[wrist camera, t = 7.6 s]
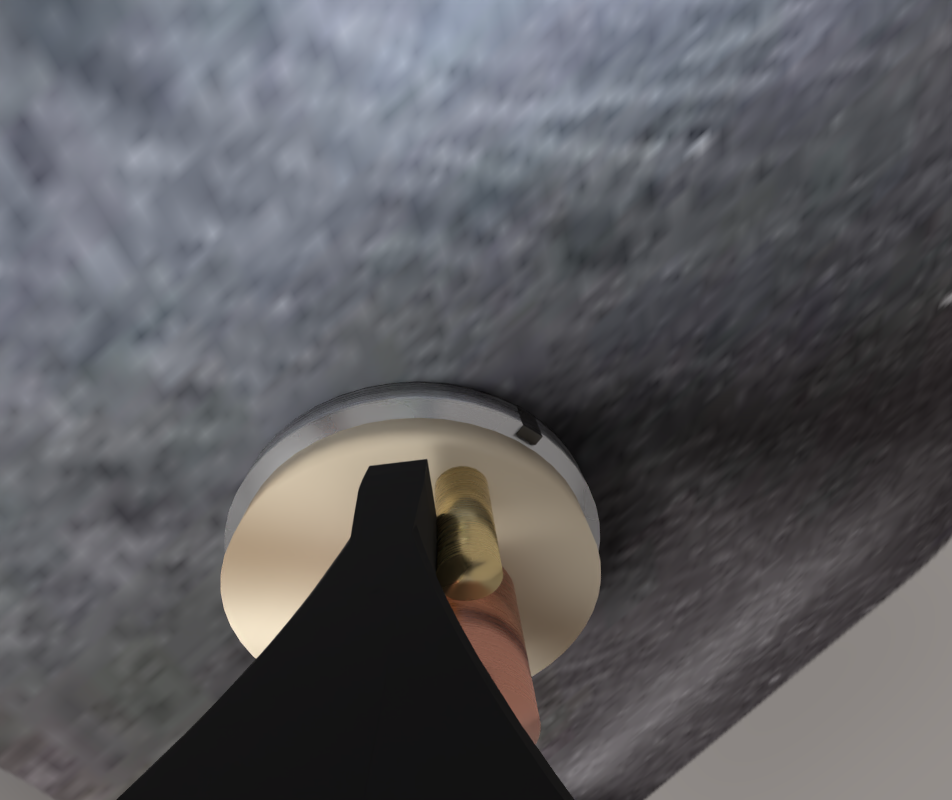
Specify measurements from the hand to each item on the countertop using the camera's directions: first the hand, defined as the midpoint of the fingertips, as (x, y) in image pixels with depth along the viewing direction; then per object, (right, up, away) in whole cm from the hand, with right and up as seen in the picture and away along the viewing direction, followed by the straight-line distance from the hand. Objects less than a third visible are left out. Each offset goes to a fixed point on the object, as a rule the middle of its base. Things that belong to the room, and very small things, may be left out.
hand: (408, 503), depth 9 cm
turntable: (0, -3, +4) cm, 5 cm away
